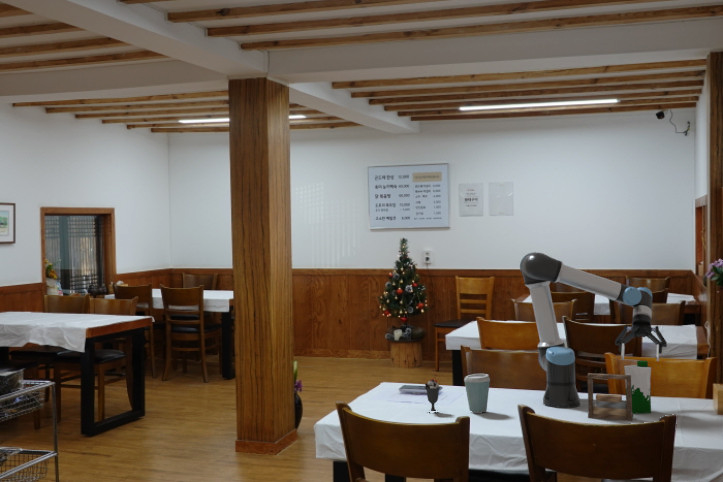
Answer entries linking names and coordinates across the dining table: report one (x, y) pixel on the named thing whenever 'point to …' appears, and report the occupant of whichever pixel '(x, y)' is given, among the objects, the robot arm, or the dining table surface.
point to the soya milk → (640, 386)
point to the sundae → (432, 392)
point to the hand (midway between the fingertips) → (639, 358)
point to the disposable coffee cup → (477, 391)
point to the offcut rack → (610, 400)
